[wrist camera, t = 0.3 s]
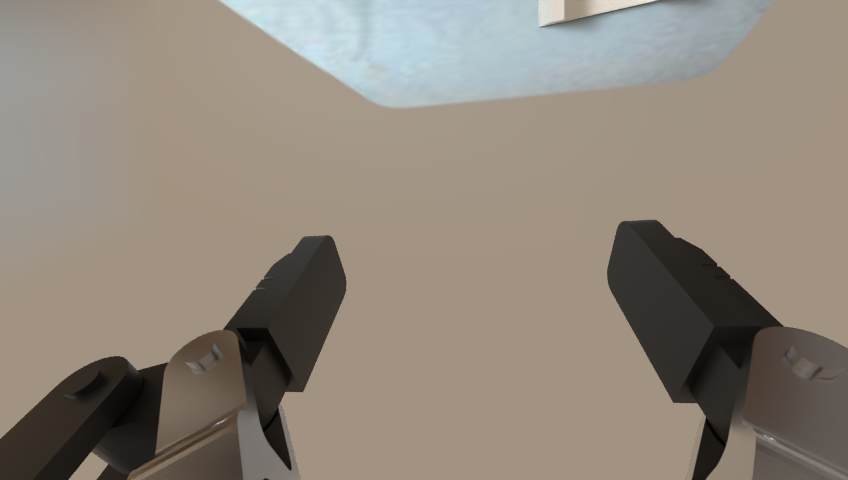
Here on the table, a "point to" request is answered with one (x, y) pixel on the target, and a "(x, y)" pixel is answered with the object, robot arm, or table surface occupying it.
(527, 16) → the table surface
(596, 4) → the tray
